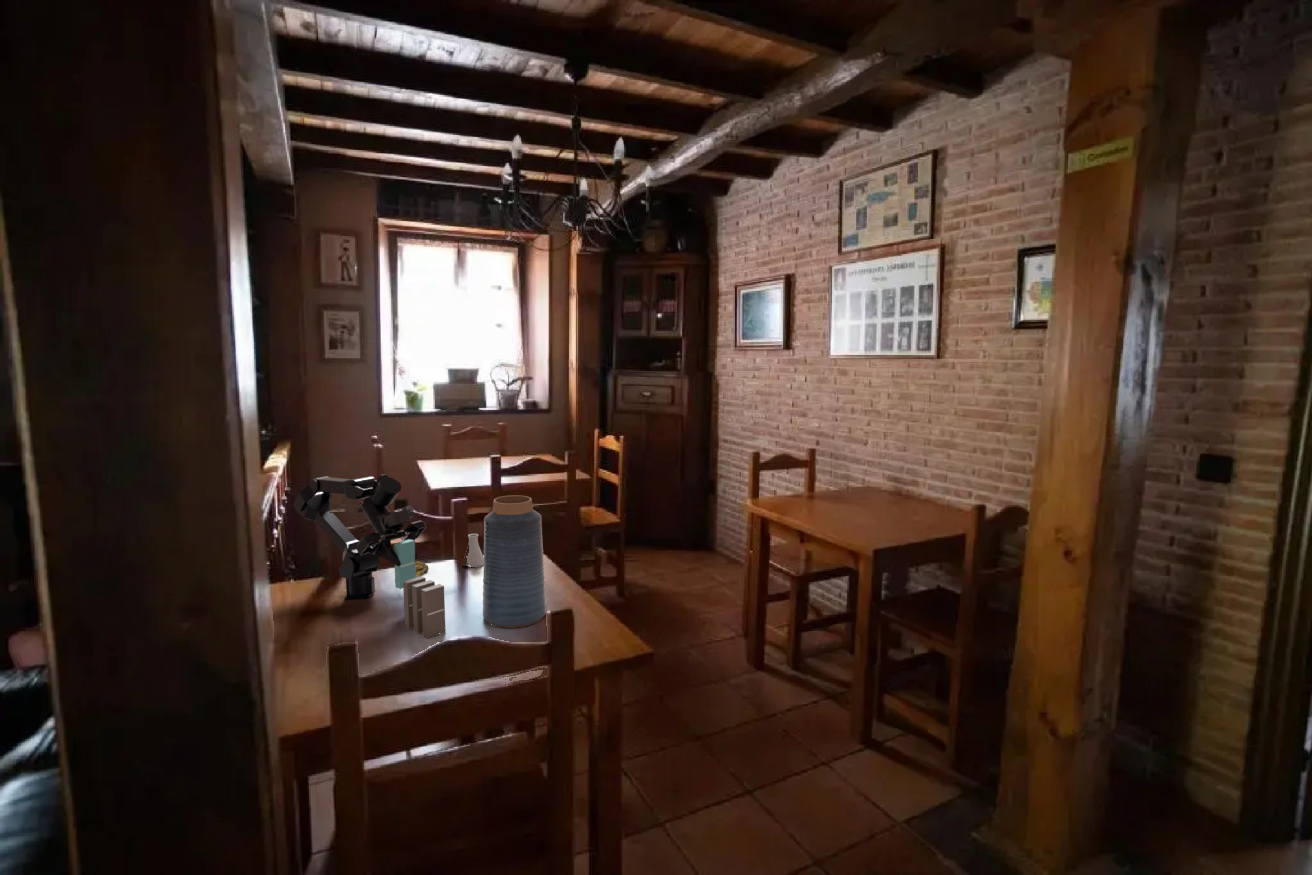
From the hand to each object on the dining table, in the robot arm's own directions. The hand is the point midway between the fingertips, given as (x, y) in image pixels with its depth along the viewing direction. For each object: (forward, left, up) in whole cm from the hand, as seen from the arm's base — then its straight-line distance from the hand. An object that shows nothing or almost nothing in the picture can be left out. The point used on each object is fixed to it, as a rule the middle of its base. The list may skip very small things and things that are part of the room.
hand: (408, 562), depth 174 cm
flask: (+11, +37, -14) cm, 41 cm away
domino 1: (+4, -9, -13) cm, 17 cm away
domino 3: (+9, -15, -13) cm, 23 cm away
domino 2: (+7, -12, -13) cm, 19 cm away
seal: (-7, +32, -14) cm, 36 cm away
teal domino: (-1, +1, -7) cm, 7 cm away
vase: (+28, -6, -14) cm, 32 cm away
